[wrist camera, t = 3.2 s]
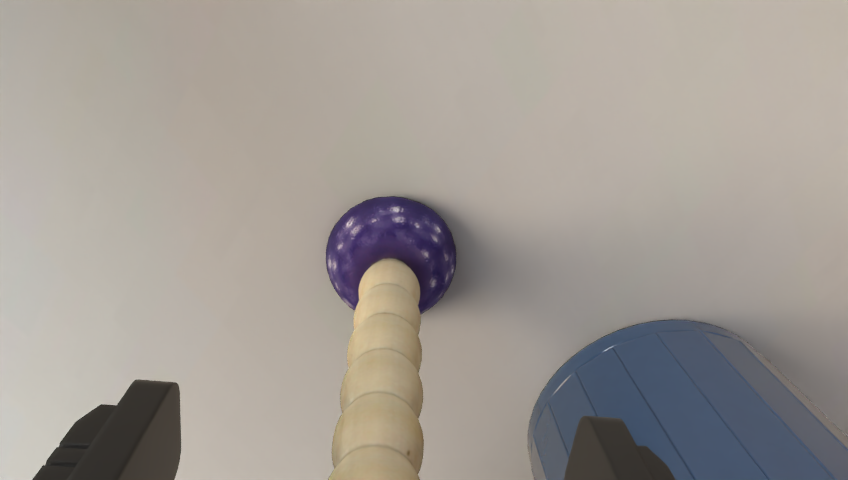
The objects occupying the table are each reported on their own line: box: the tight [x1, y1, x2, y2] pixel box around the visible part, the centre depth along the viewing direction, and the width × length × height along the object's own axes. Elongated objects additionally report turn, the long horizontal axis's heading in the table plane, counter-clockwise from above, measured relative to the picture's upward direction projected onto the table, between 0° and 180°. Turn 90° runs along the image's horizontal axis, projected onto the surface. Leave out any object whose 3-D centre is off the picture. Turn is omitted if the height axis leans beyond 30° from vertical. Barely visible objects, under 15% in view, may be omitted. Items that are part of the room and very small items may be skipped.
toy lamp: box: [326, 197, 456, 480], centre depth 12 cm, size 5×5×17 cm
